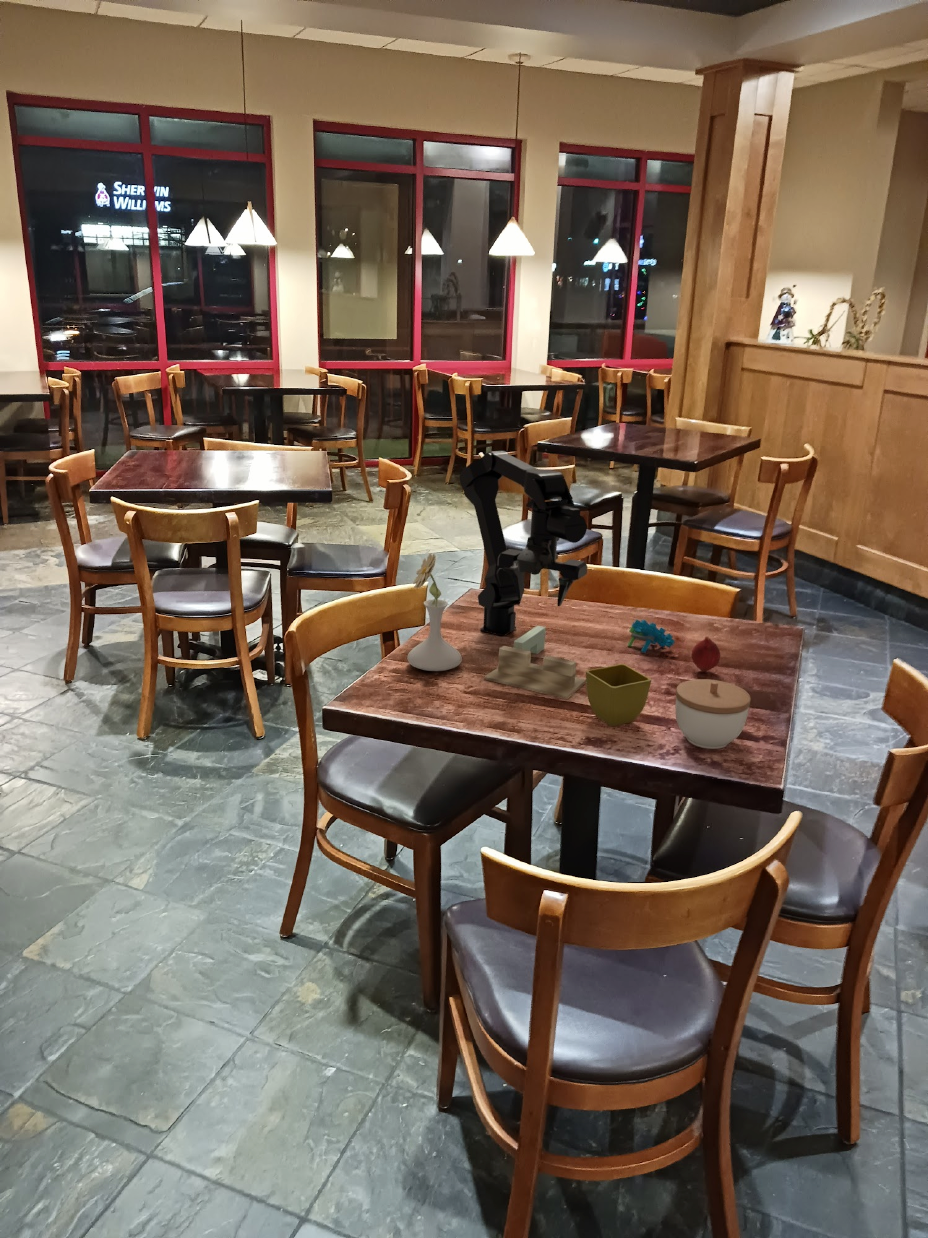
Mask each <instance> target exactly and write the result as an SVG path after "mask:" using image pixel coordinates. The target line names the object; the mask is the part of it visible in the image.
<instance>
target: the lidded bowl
mask: <svg viewBox="0 0 928 1238" xmlns="http://www.w3.org/2000/svg"><path fill="white" fill-rule="evenodd" d="M751 700H752V699H751V695H750V694H749V693H748V691H746V690H745V689H743V687H740V686H737V685H736V684H733V683H730V682H727V681H722V680H716V679H706V678H701V679H700V678H699V679H698V678H697V679H689V680H685V681H683V682H680V683H679V684H678V685H677V686H676V690H675V704H674V705H675V708H674V709H675V718H676V722H677V725H678V728H679V730H680V731H681V733H682V734H683V735H684V736H685V737H686V740H687V742H689V743H690V744H692V745H693V746H696V747H698V748H703V749H708V750H719V749H723V748H726V747H727V746H728V745H729V744H730V743H732V742H733V741H734V740H735V739H737V738H738V737H739V736H740V735H741V733H742V731H743V730H744V727H745V724H746V721H747V718H748V714H749V708H750V705H751Z"/></svg>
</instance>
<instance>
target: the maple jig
mask: <svg viewBox="0 0 928 1238" xmlns="http://www.w3.org/2000/svg"><path fill="white" fill-rule="evenodd" d="M531 656H532V653H531V652H530V651H526V650H521V649H517V648H514V647H511V646H506V645H502V646H500V647H499V648H498V665H497V668H495V669H493V670H492V671H491V672H489V673H487V674H486V675H485V676H484V680H486V681H490V682H493V683H497V684H498V683H499V684H502V685H507V686H511V687H515V688H520V689H523V690H528V691H533V692H536V693H539V694H545V695H548V696H554V697H557V698H562V699H566V700H568V699H569V698H570V697H571V696H573V694H575V693H576V692H577V691H578V690H579V689H581V687H582V686H583V685H585V684H586V678H581V677H577V676H576V669H577V661H575V660H571V659H566V658H562V657H557V656H553V655H549V654H548V655H545V656H544V657H543V659H542V665H541V664H536V663H532V662H531V658H532V657H531Z"/></svg>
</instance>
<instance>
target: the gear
mask: <svg viewBox="0 0 928 1238" xmlns="http://www.w3.org/2000/svg"><path fill="white" fill-rule="evenodd" d="M666 631H667V630H666V629H665V628H663V627H660V628H657V624H656V623H654V622H650V623H648V622H647V620H645V619H641V621H640V620H639V619H635V621H634V622H632V624H631V627H630V628H629V633H631V634H630V637H631V638H630V641H629V642H628V644H627V647H629V648H630V647H632V646H633V643H634V641H635V640H638V641H642V642H645V643H644V645H643V646H642V648H641V650H640V652H641V653H642V654H645V653H646V652H647V650H648V649H649V647H650V645H651V644H653V645H656V644H657V645H658V646H660V647H661V648H665V647H667V648H669V649H670V648H671V646H674V645H675V640H674V639H673V635H672V634H670V633H667V634H665V633H666Z"/></svg>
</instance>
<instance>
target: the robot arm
mask: <svg viewBox="0 0 928 1238" xmlns="http://www.w3.org/2000/svg"><path fill="white" fill-rule="evenodd" d="M503 477H504V478H507V479H508V480H510V481H513V482H514V483H516V484H518V485H520V486H521V487H522V488H523V491H524V494H526V496H528V497H529V498H530V499H531V500H529V501H528V502H527V503H526V504H525V507H526V508H528V509H531V519H530V520H531V521H530V522H531V523H530V535H529V536H528V537H527V540H526V545H525V548H523V549H522V550H519V549H512V548H507V544H506V541H505V535H504V532H503V527H502V523H501V519H500V515H499V510H498V507H497V502H496V499H497V496H498V492H499V490H500V485H499V481H500V480H502V479H503ZM459 483H460V485H461V488H462V491H463V495H464V496H465V497H466V499H467V501H469V502H470V503H471V504H472V505H473V506H474V511H475V514H476V518H477V523H478V527H479V532H480V536H481V540H482V543H483V548H484V552H485V553H484V554H485V558H486V560H487V561H486V562H487V566H488V568H487V570H486V573H485V576H484V584H485V587H484V588H483V590H482V591H480V593H478V595H477V600H478V605H479V606H481V607H483V626H482V627H481V628H479V631H480V632H484V633H488V634H493V635H498V636H502V637H505V636H507V635H509V634H510V633H512V632H513V631H514V630H516V629H517V626H516V617H517V613H516V612H515V606H516V605H517V606H520V605H521V602H522V599H523V595H524V592H525V583H526V582H525V577H526V575H525V574H526V573H527V574H531V575H534V576H535V575H539V574H540V573H541V572H542V570H544V569H545V570H548V571H549V570H550V571H556V572H559V574H560V577H559V578H558V583H559V587H558V592H557V593H558V595H557V601H556V603H557V607H561V606H562V604H563V602H564V600H565V598H566V596H567V594H568V592H569V589H570V588H571V586H572V584H573V583H574V582H575V581H578V580H580V579H582V578H584V577H585V576H586V575H587V574H588V565H587V563H586V561H583V560H577V559H572V558H570V559H568V560H566V561H565V562H560V561H557V560H558V559H559V554H558V553H557V546H558V542H559V541H560V539H561V540H564V541H567V542H568V543H573V544H576V543H579V542H580V541H582V540H583V538H584V537H585V536H586V532H587V530H588V525H587V522H586V519H585V518H584V516H582V515H581V509H580V508H576V507H575V503H574V500H573V499H574V498H573V495H572V494H571V491H570V490H569V489H570V488H569V486H568V483H567V481H566V479H565V476H564V474H563V473H562V472H560V471H557V470H553V469H552V470H551V469H543V468H542V469H541V468H537V467H535V466H533V465H531V464H529V463H526V462H524V460H523V461H522V460H520V459H519V458H517V457H514V456H512V455H510V454H509V453H508V452H507V451H505V450H495V451H488V452H486V453H485V454H484V455H482V456H481V457H480V458H478V459H477V460H475V461H473V462H471V463H469V464H468V465H467V466H464V467H463V469H462V471H461V472H460V474H459Z"/></svg>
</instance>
